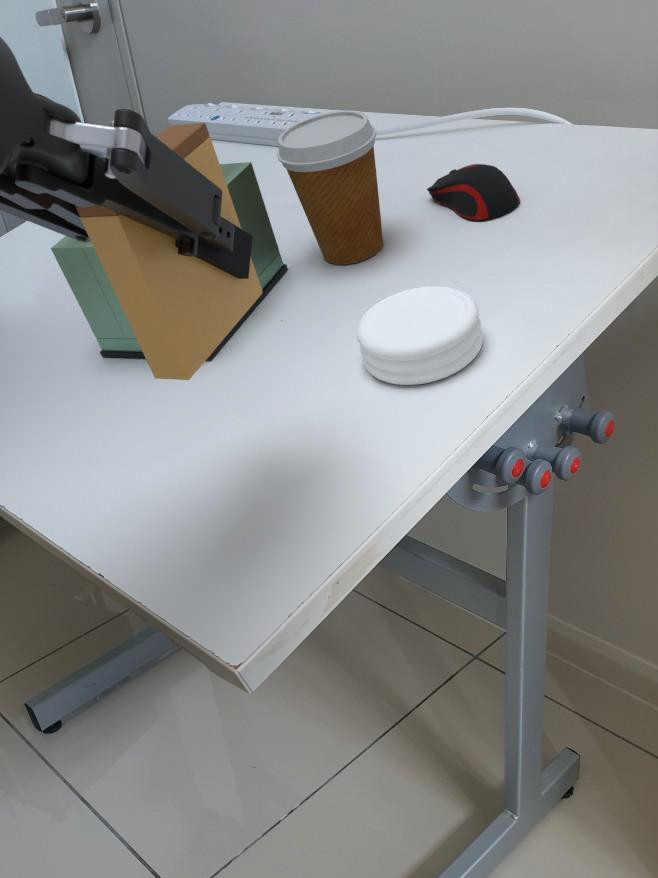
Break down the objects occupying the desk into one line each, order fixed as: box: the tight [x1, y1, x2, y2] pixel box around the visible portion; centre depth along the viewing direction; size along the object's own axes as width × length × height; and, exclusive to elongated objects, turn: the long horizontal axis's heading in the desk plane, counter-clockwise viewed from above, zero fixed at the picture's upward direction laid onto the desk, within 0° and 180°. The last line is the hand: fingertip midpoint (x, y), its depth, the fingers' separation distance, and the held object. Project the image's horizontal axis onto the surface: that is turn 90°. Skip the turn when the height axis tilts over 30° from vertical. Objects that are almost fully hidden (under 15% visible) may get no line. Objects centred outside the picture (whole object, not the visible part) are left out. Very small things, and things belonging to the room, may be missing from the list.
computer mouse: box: [426, 163, 521, 222], centre depth 90 cm, size 6×11×4 cm, turn 32°
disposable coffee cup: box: [276, 110, 384, 266], centre depth 85 cm, size 10×10×12 cm
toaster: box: [50, 161, 289, 362], centre depth 82 cm, size 13×16×11 cm
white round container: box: [355, 285, 484, 386], centre depth 71 cm, size 10×10×4 cm
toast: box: [75, 122, 263, 381], centre depth 52 cm, size 2×10×11 cm, turn 160°
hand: (223, 257), depth 56 cm, fingers closed on toast, 2 cm apart
